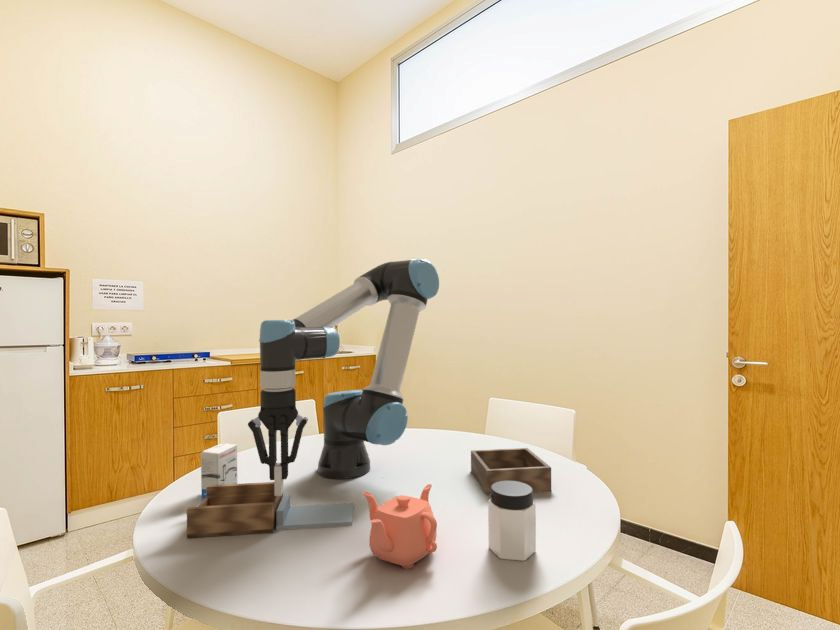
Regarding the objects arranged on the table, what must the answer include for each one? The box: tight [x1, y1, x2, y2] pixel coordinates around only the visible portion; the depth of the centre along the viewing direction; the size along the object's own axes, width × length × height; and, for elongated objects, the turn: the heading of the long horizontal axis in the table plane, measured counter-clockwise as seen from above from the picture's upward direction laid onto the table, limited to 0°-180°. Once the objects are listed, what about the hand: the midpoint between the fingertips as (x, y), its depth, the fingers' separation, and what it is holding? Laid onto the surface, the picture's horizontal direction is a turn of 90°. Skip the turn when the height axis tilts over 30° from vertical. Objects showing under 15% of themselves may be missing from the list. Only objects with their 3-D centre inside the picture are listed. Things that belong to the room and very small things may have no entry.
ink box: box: [200, 443, 238, 500], centre depth 116 cm, size 9×5×12 cm, turn 168°
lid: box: [275, 493, 354, 531], centre depth 103 cm, size 16×10×4 cm, turn 97°
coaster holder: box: [470, 447, 552, 495], centre depth 124 cm, size 17×17×6 cm
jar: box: [487, 481, 537, 562], centre depth 88 cm, size 9×8×12 cm
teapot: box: [361, 484, 438, 569], centre depth 86 cm, size 14×14×11 cm
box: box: [186, 481, 284, 539], centre depth 101 cm, size 17×13×6 cm
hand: (279, 493), depth 102 cm, fingers closed
